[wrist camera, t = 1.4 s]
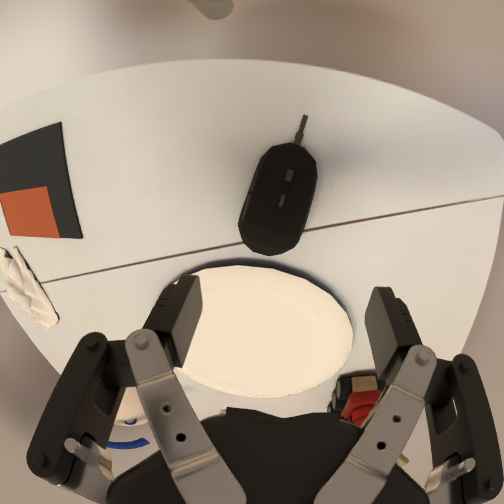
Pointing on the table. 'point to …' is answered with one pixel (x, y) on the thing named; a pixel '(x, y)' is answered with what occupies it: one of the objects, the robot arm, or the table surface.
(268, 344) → the plate
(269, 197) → the gaming mouse
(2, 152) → the mat
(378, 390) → the toy fire truck
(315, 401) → the table surface
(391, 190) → the table surface
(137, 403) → the kettle
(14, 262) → the cloth
